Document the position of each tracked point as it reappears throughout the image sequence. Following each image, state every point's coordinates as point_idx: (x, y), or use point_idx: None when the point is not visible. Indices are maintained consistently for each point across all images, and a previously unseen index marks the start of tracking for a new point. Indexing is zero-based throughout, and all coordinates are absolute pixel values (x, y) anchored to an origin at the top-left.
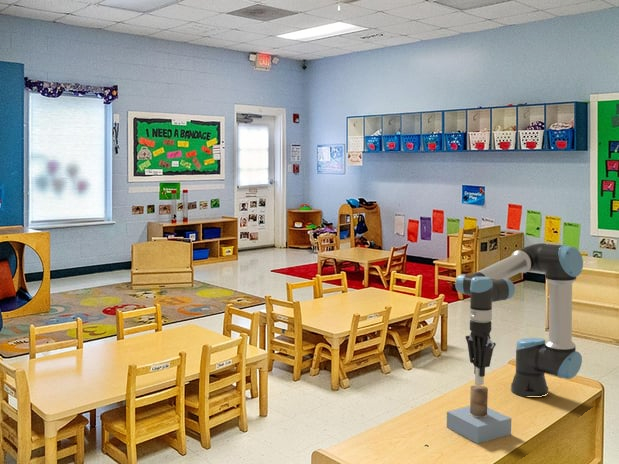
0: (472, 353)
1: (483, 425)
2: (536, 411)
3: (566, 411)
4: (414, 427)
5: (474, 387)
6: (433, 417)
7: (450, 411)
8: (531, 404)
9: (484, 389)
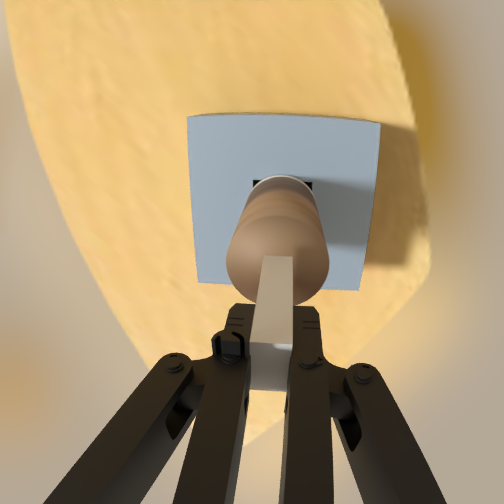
0: (159, 460)
1: (362, 267)
2: None
3: None
4: (173, 317)
5: (255, 280)
6: (132, 234)
7: (202, 272)
8: None
9: (313, 257)
